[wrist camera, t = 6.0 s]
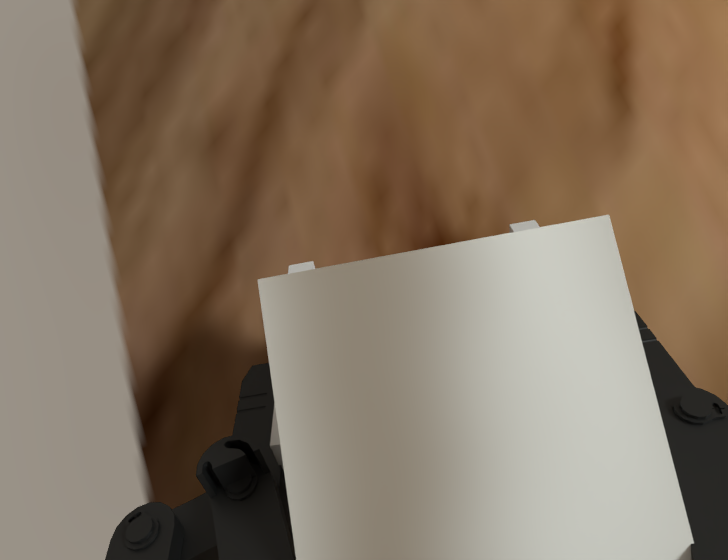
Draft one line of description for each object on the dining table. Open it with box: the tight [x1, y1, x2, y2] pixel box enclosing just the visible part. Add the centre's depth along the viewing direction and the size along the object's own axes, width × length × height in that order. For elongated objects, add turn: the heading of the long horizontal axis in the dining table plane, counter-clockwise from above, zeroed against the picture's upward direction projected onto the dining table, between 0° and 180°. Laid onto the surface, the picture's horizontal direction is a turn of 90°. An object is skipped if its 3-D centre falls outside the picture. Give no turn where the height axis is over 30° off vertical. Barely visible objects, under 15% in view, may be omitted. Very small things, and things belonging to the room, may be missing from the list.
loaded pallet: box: [258, 215, 694, 560], centre depth 14 cm, size 8×8×11 cm
